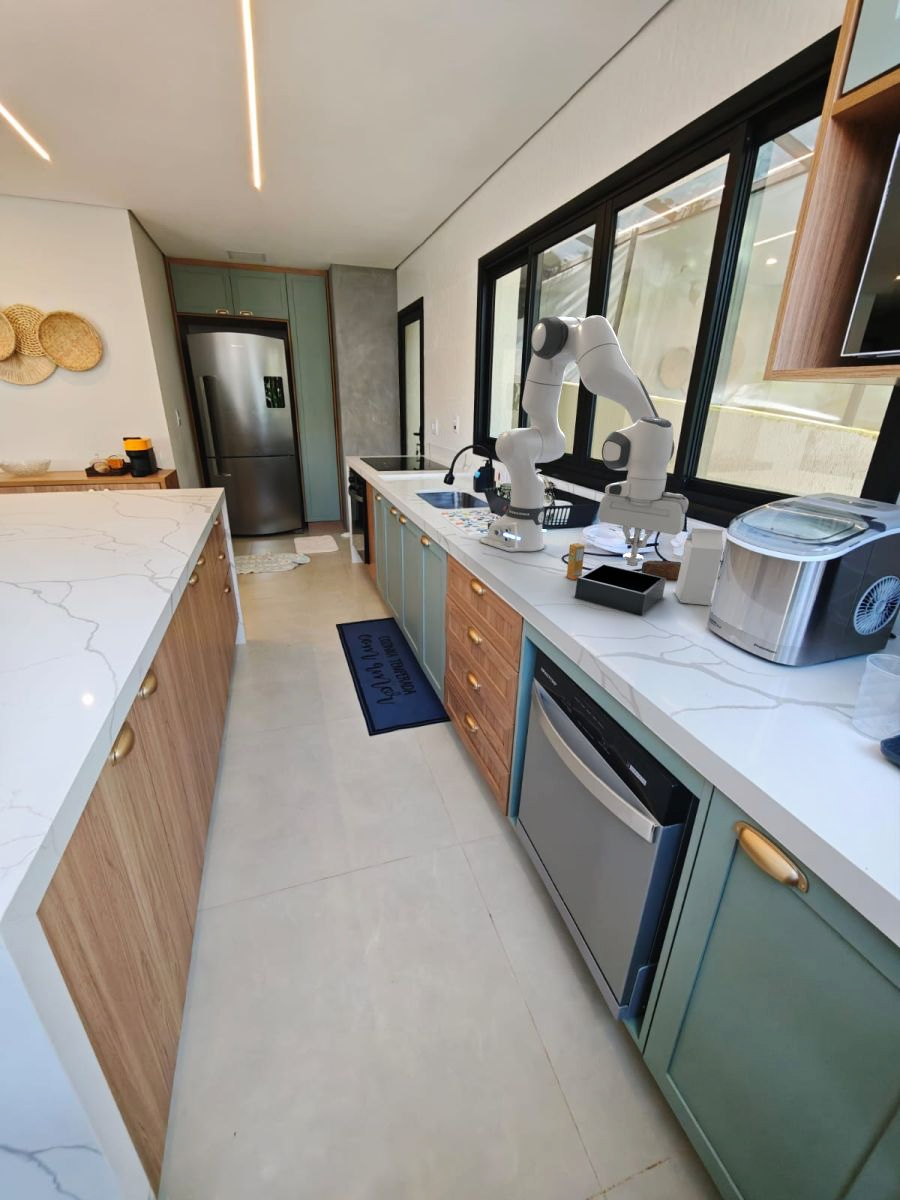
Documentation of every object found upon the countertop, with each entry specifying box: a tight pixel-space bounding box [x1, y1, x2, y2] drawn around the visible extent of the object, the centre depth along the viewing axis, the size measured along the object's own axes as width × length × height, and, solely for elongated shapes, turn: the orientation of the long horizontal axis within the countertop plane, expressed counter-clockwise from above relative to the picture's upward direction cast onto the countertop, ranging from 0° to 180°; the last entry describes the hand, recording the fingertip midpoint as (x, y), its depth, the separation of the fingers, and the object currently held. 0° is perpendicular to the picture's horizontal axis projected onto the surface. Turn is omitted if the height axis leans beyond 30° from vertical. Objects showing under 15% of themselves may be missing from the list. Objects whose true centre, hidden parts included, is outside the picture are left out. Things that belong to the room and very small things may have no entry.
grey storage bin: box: [574, 563, 667, 617], centre depth 131 cm, size 18×16×6 cm
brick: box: [641, 560, 681, 581], centre depth 147 cm, size 11×4×5 cm, turn 80°
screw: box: [622, 528, 644, 567], centre depth 125 cm, size 13×5×5 cm
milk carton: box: [674, 527, 724, 606], centre depth 129 cm, size 7×7×19 cm
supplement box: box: [566, 542, 586, 581], centre depth 144 cm, size 3×4×10 cm
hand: (635, 545), depth 126 cm, fingers closed on screw
